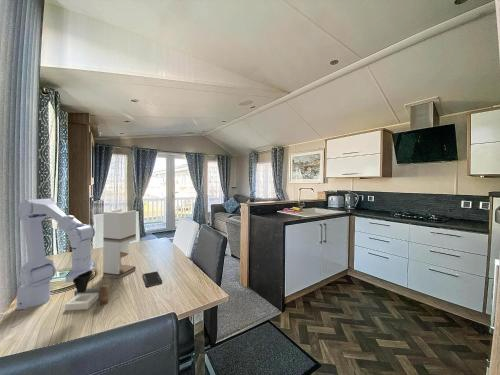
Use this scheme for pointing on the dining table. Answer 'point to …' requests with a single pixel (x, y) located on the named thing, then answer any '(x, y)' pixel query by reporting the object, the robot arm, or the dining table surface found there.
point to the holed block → (81, 301)
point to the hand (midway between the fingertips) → (81, 291)
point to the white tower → (117, 241)
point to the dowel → (103, 294)
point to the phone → (152, 279)
